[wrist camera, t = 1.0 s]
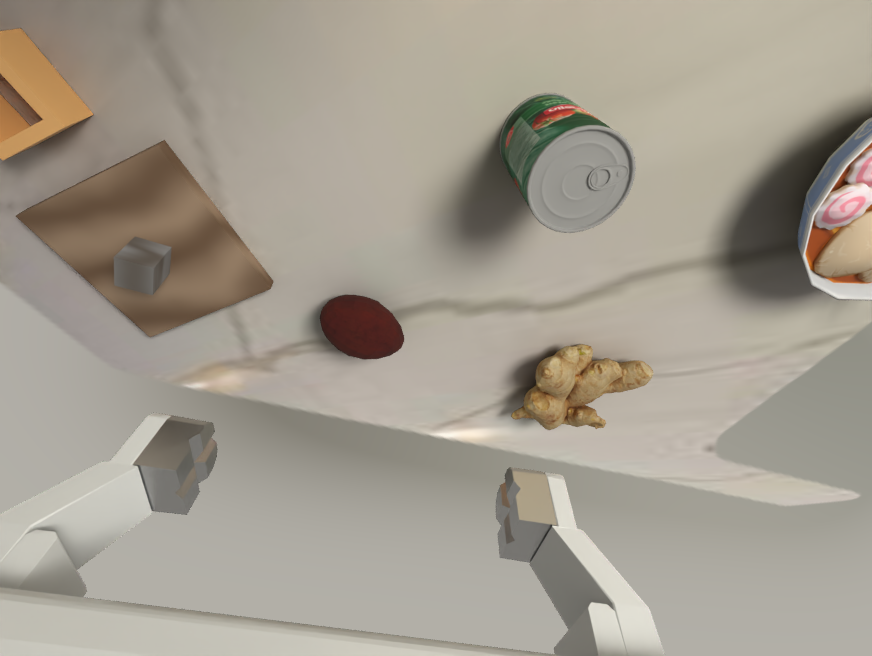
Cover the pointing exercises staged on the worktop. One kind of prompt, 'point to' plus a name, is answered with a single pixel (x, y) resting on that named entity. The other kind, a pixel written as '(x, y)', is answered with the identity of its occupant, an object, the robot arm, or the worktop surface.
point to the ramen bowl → (841, 221)
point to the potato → (361, 327)
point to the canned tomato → (566, 162)
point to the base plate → (149, 241)
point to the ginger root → (577, 387)
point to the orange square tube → (33, 95)
